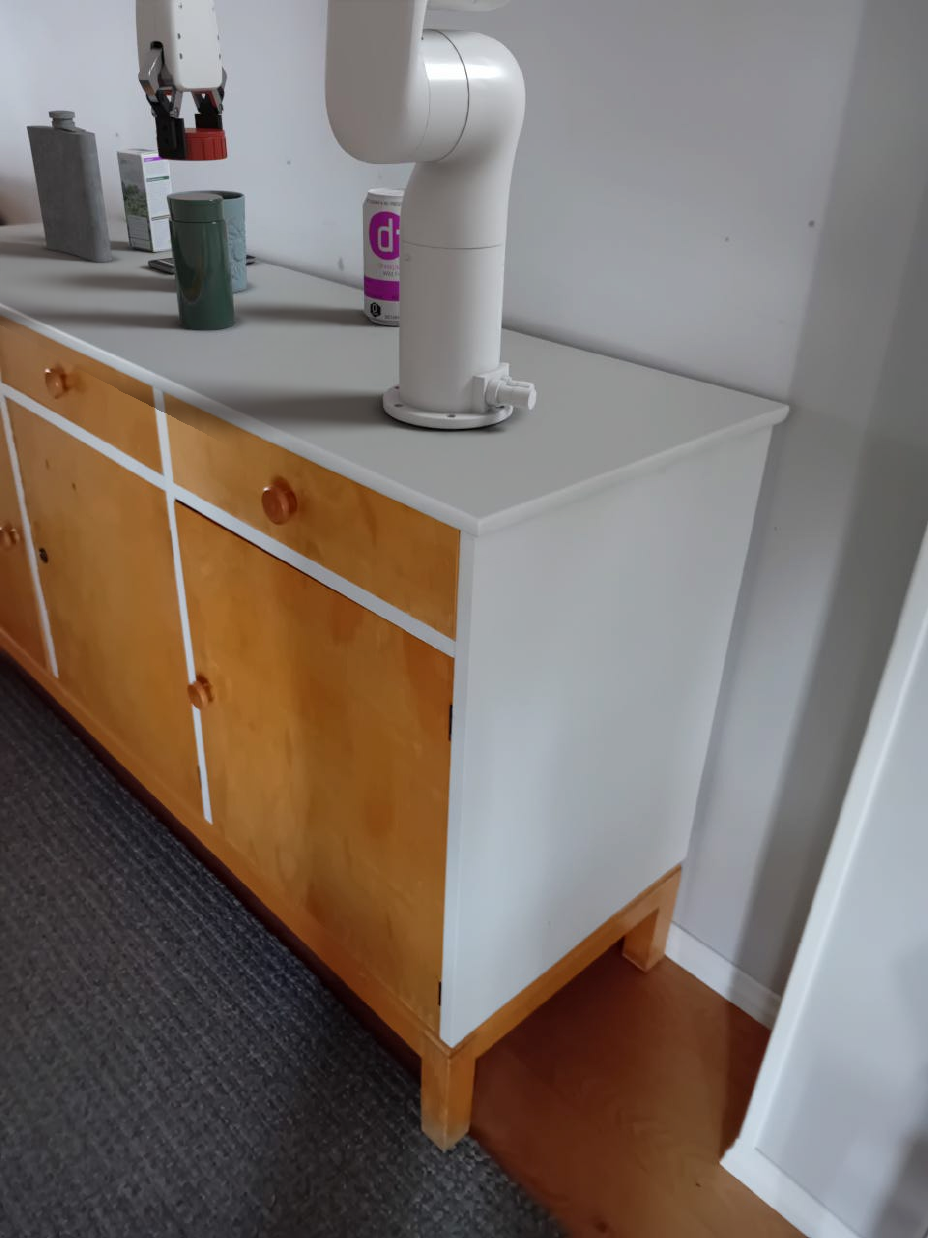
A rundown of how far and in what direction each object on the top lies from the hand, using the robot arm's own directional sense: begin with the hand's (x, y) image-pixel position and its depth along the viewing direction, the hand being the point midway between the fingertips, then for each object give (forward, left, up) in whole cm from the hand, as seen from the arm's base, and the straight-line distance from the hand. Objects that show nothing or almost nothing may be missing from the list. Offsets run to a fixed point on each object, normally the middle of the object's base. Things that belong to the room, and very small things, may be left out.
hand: (193, 154), depth 112 cm
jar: (0, 0, -19) cm, 19 cm away
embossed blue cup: (+12, -16, -19) cm, 28 cm away
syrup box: (+38, -33, -19) cm, 54 cm away
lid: (0, 0, +2) cm, 2 cm away
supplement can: (-18, -15, -19) cm, 30 cm away
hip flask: (+44, -23, -19) cm, 53 cm away
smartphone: (+23, -27, -19) cm, 40 cm away
